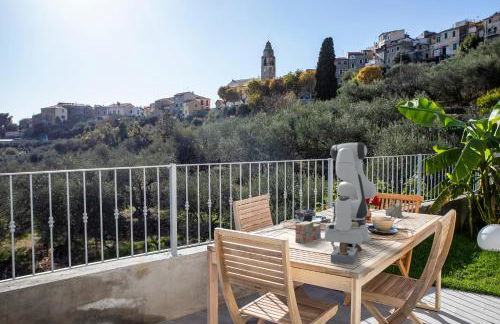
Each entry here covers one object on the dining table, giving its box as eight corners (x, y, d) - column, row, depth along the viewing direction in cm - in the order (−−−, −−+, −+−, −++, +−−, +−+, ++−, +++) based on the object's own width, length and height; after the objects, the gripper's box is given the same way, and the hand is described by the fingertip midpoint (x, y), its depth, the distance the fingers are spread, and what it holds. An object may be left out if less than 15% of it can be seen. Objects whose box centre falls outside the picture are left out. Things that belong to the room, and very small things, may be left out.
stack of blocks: (313, 236, 276) (313, 219, 276) (320, 237, 272) (320, 220, 272) (295, 242, 260) (295, 223, 260) (303, 244, 256) (303, 225, 256)
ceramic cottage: (399, 214, 358) (398, 198, 357) (405, 218, 341) (404, 201, 340) (381, 215, 359) (381, 199, 358) (386, 219, 342) (386, 202, 341)
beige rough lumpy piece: (346, 245, 252) (347, 218, 252) (365, 248, 246) (365, 220, 245) (336, 251, 237) (336, 223, 237) (355, 254, 231) (356, 225, 230)
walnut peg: (339, 259, 222) (340, 241, 221) (347, 260, 220) (347, 242, 219) (338, 261, 218) (338, 243, 217) (346, 262, 216) (346, 244, 215)
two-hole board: (336, 252, 235) (336, 245, 235) (357, 254, 230) (357, 247, 230) (330, 262, 216) (330, 254, 216) (353, 264, 212) (353, 257, 212)
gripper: (363, 225, 217) (363, 250, 218) (326, 223, 224) (326, 247, 225) (362, 228, 211) (362, 253, 212) (323, 225, 219) (323, 250, 219)
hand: (343, 250), depth 218 cm, fingers open, 8 cm apart
